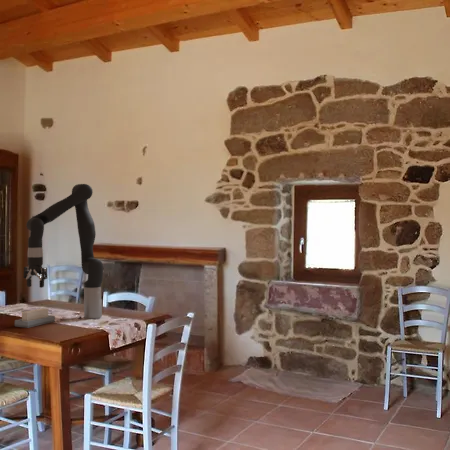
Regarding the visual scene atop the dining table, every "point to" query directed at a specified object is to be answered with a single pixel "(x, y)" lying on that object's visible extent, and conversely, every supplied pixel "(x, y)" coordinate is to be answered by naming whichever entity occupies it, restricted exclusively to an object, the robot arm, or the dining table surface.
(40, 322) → the grey flat block
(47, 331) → the dining table surface
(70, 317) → the dining table surface
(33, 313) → the beige rectangular block
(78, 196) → the robot arm
